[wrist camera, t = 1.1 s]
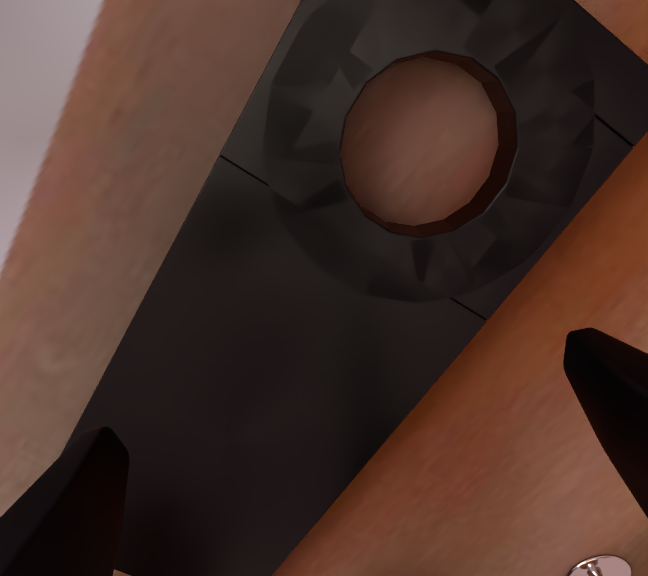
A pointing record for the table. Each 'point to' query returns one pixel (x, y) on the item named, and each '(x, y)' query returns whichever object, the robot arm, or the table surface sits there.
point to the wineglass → (602, 567)
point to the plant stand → (341, 273)
